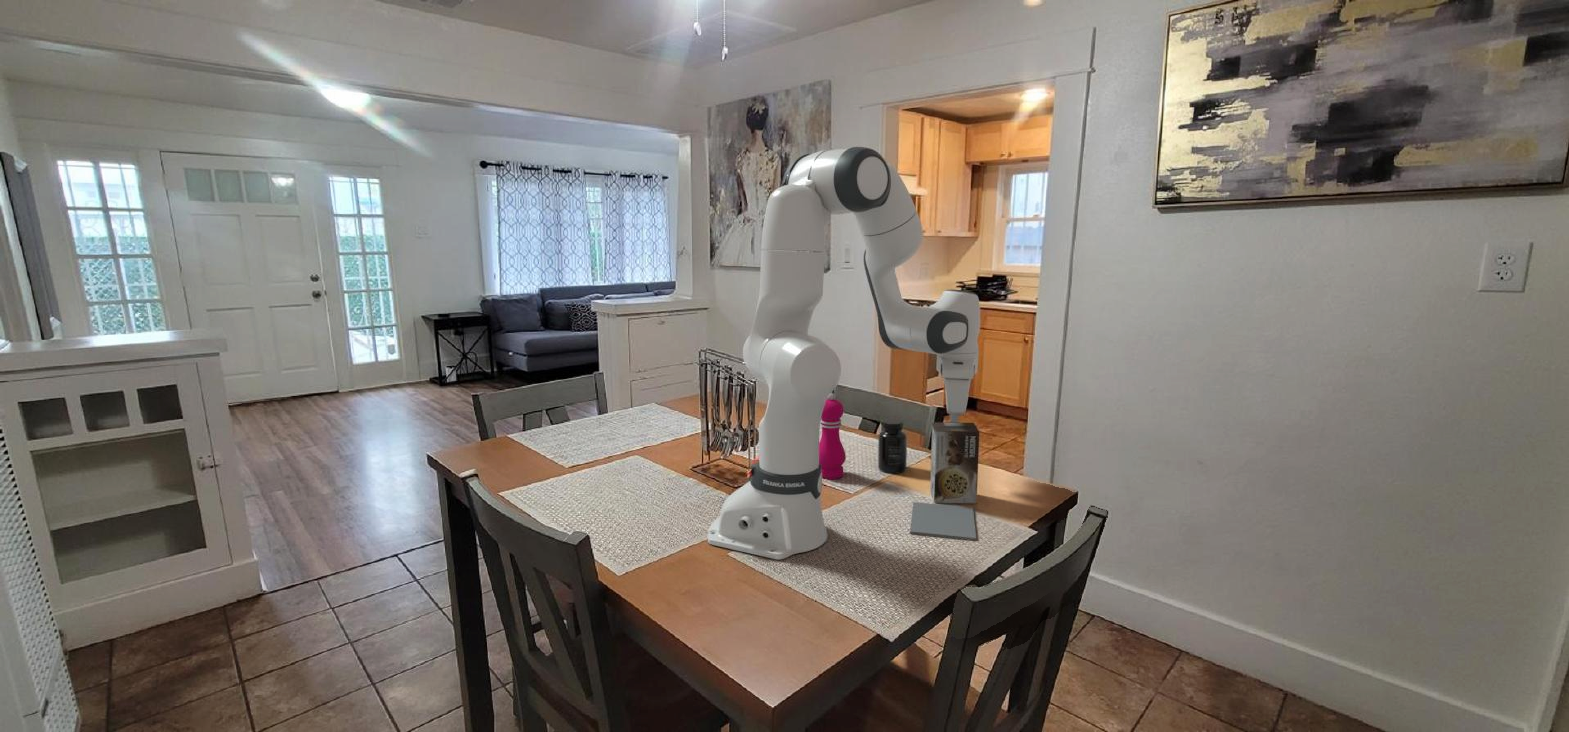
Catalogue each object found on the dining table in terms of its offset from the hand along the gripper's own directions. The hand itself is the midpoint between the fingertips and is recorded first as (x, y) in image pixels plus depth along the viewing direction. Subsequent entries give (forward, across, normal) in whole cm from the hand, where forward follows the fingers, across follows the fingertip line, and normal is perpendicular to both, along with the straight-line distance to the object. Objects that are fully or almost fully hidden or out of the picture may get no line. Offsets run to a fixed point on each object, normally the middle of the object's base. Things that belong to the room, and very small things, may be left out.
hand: (954, 423), depth 140 cm
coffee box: (+14, +9, 0) cm, 17 cm away
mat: (+14, +21, -2) cm, 25 cm away
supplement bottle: (+14, -6, -14) cm, 21 cm away
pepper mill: (+14, +1, -28) cm, 31 cm away
